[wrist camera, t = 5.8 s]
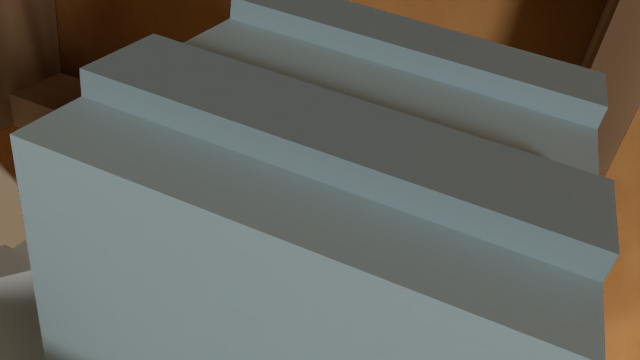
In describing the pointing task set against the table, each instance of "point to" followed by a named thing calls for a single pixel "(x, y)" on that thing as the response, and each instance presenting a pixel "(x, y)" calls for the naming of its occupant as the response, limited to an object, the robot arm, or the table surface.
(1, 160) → the table surface
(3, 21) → the bay
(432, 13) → the table surface
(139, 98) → the grey boxy piece
